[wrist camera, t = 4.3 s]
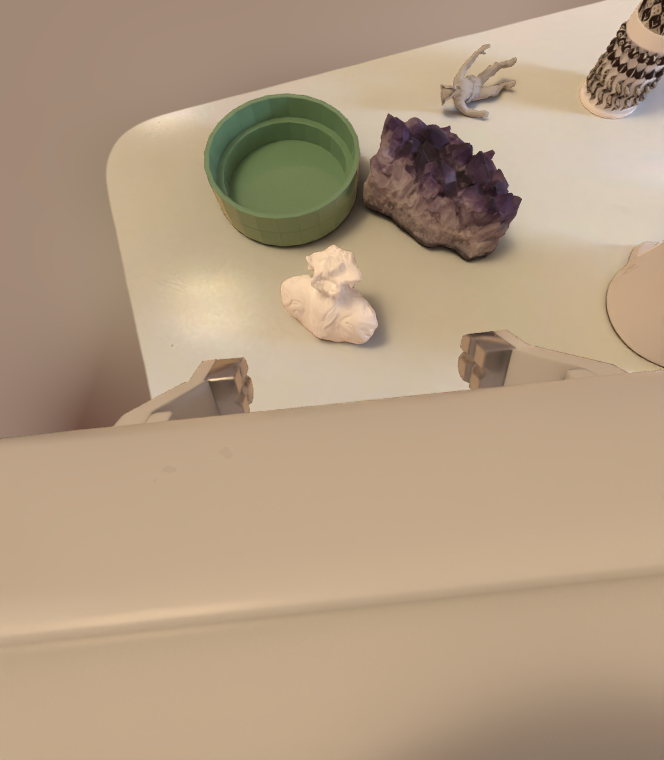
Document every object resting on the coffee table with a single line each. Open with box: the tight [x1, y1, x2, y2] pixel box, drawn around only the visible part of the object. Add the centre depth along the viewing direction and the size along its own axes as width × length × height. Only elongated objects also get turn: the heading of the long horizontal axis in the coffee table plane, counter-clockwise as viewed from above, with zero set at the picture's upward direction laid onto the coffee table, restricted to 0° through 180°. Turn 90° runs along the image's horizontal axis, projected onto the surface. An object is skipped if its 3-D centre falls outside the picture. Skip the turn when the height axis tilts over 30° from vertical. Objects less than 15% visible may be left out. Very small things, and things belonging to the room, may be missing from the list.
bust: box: [280, 245, 378, 344], centre depth 34 cm, size 12×8×11 cm
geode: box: [363, 113, 522, 261], centre depth 37 cm, size 20×12×10 cm, turn 52°
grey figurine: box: [441, 44, 517, 118], centre depth 44 cm, size 8×5×12 cm
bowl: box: [204, 94, 360, 246], centre depth 40 cm, size 19×19×6 cm
